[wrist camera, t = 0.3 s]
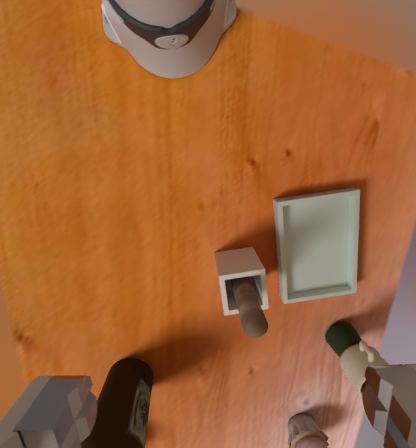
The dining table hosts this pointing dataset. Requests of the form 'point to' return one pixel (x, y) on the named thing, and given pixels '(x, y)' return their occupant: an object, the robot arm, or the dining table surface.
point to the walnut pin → (249, 307)
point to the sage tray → (317, 244)
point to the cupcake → (305, 433)
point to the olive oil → (122, 407)
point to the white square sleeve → (236, 268)
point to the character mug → (353, 354)
